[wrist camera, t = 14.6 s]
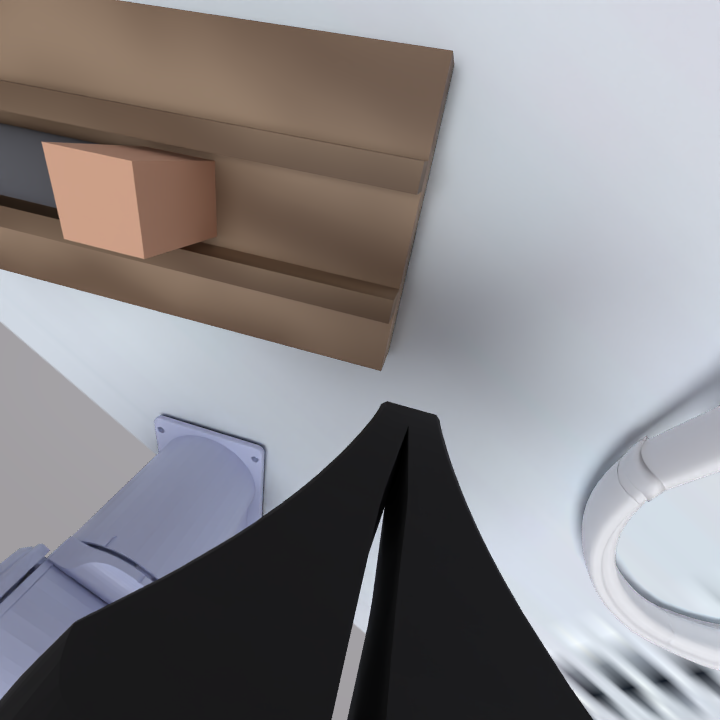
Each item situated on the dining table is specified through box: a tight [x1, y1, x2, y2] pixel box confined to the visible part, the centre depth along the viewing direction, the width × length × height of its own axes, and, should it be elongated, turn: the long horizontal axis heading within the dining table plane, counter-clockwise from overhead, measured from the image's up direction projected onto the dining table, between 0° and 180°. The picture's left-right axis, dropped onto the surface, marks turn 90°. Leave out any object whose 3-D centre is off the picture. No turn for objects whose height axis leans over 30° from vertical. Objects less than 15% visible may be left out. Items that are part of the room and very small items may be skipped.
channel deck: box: [0, 0, 454, 371], centre depth 16 cm, size 12×24×4 cm, turn 81°
